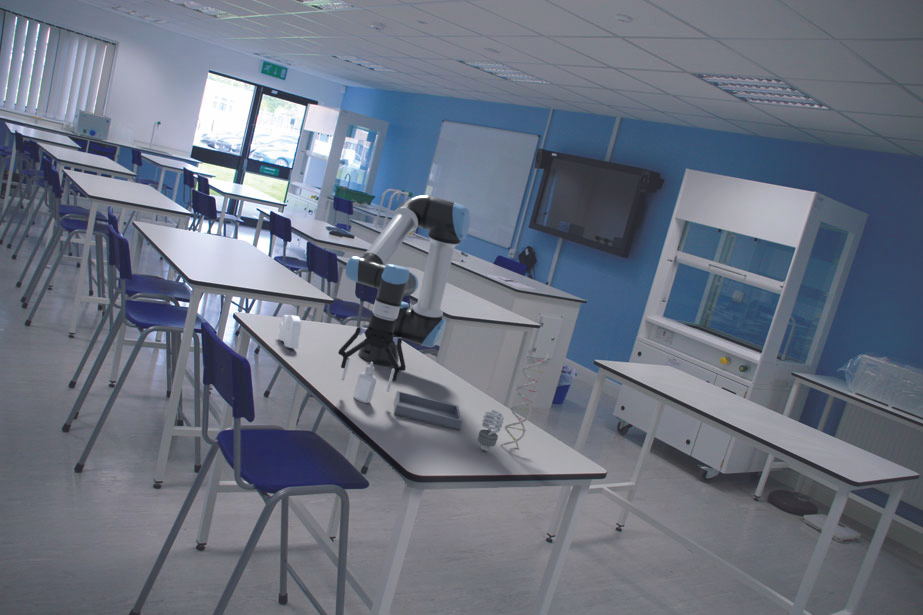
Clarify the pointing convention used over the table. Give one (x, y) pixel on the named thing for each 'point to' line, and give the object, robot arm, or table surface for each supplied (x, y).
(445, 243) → the robot arm
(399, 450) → the table surface
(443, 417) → the tray
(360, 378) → the eye dropper bottle
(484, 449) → the light bulb
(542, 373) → the dna model
